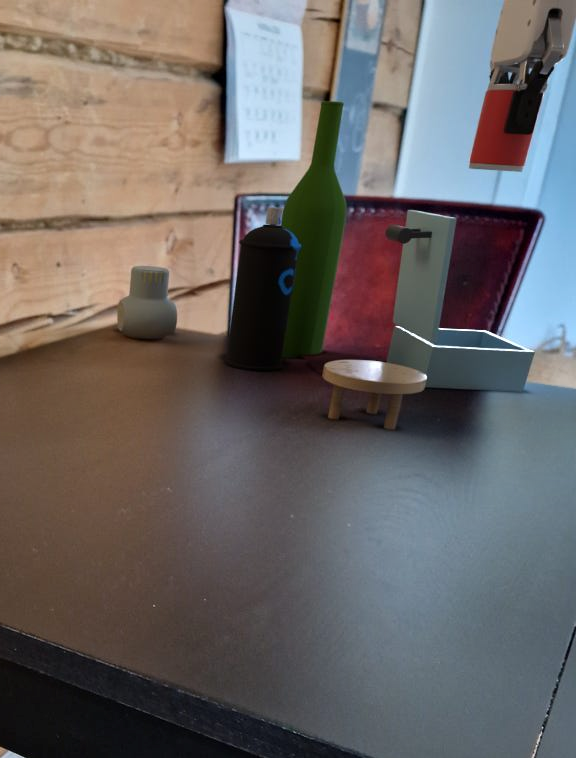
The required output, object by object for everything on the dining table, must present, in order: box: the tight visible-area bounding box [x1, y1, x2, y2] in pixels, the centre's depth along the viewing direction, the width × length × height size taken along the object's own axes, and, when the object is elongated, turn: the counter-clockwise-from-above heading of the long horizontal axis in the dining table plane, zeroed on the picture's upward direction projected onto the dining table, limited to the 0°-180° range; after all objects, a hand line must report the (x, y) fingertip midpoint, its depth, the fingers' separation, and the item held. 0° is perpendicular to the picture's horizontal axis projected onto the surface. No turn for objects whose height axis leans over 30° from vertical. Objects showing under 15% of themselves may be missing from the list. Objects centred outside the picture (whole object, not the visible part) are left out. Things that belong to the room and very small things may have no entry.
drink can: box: [467, 83, 545, 173], centre depth 100 cm, size 6×6×8 cm
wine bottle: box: [280, 100, 348, 360], centre depth 123 cm, size 9×9×32 cm
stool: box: [321, 359, 427, 430], centre depth 95 cm, size 11×11×6 cm
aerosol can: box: [224, 206, 301, 372], centre depth 117 cm, size 8×8×20 cm
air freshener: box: [116, 265, 178, 340], centre depth 133 cm, size 11×8×10 cm
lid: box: [385, 209, 457, 343], centre depth 112 cm, size 14×15×5 cm
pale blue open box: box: [385, 325, 536, 393], centre depth 118 cm, size 14×15×6 cm
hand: (504, 132), depth 100 cm, fingers closed on drink can, 6 cm apart
